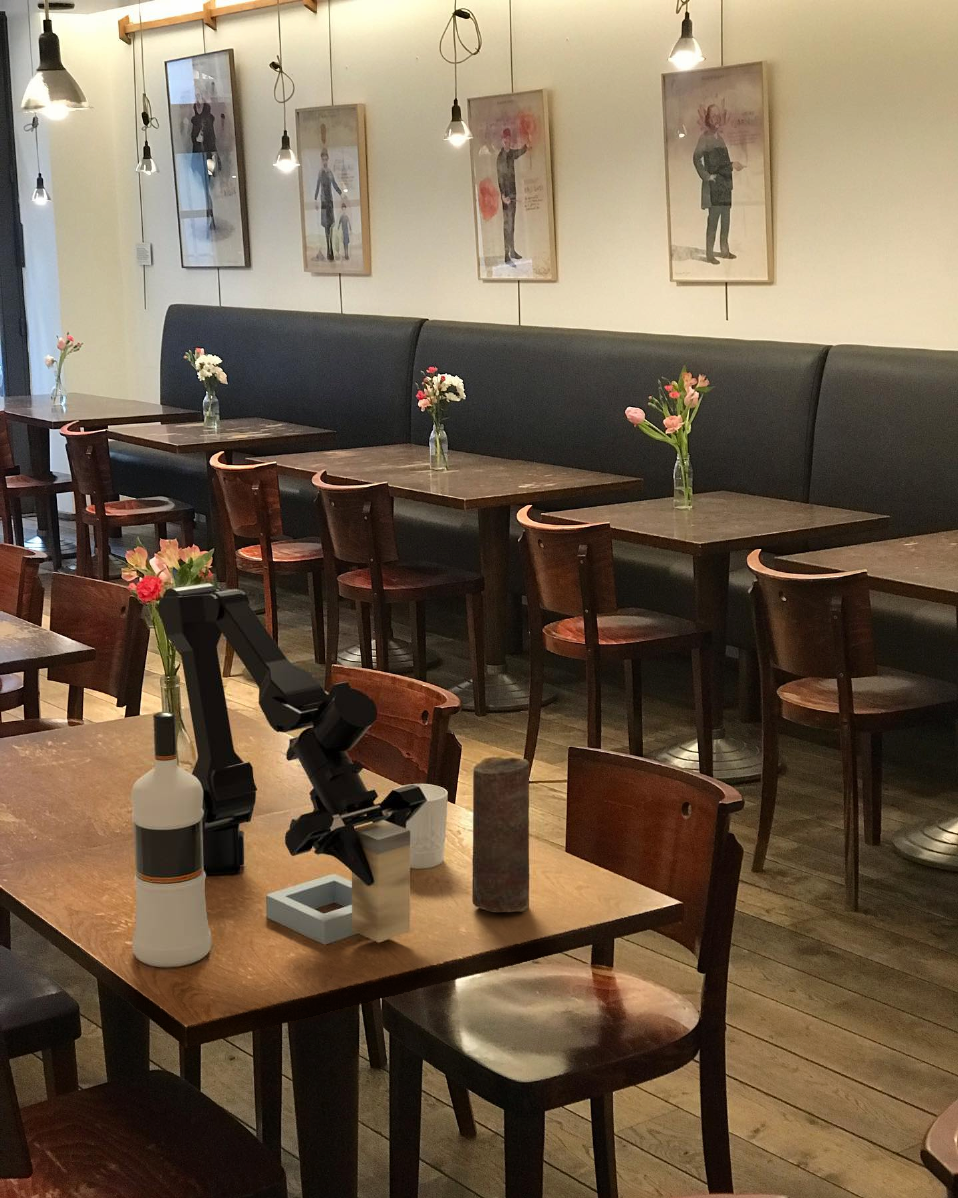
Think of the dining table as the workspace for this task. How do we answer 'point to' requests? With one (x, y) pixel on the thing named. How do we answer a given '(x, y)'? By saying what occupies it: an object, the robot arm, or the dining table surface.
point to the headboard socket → (302, 899)
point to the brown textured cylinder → (501, 834)
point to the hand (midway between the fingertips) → (388, 878)
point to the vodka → (169, 858)
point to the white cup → (428, 828)
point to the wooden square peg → (383, 882)
